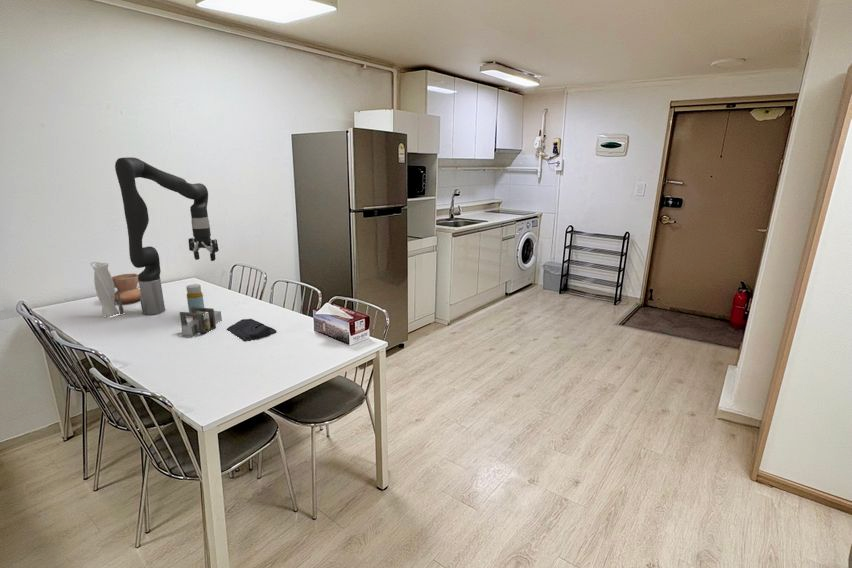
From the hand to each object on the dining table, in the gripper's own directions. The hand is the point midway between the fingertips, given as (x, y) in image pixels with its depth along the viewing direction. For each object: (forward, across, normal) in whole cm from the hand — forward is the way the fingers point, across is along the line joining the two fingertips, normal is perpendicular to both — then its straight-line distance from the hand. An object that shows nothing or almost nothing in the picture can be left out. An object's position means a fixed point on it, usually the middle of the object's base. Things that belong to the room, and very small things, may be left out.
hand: (205, 260), depth 212 cm
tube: (+28, +8, -17) cm, 34 cm away
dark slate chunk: (+28, +31, -15) cm, 45 cm away
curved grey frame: (+28, +8, -19) cm, 35 cm away
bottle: (+28, -7, -2) cm, 29 cm away
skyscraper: (+29, -47, -13) cm, 57 cm away
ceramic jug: (+28, -57, +7) cm, 64 cm away
